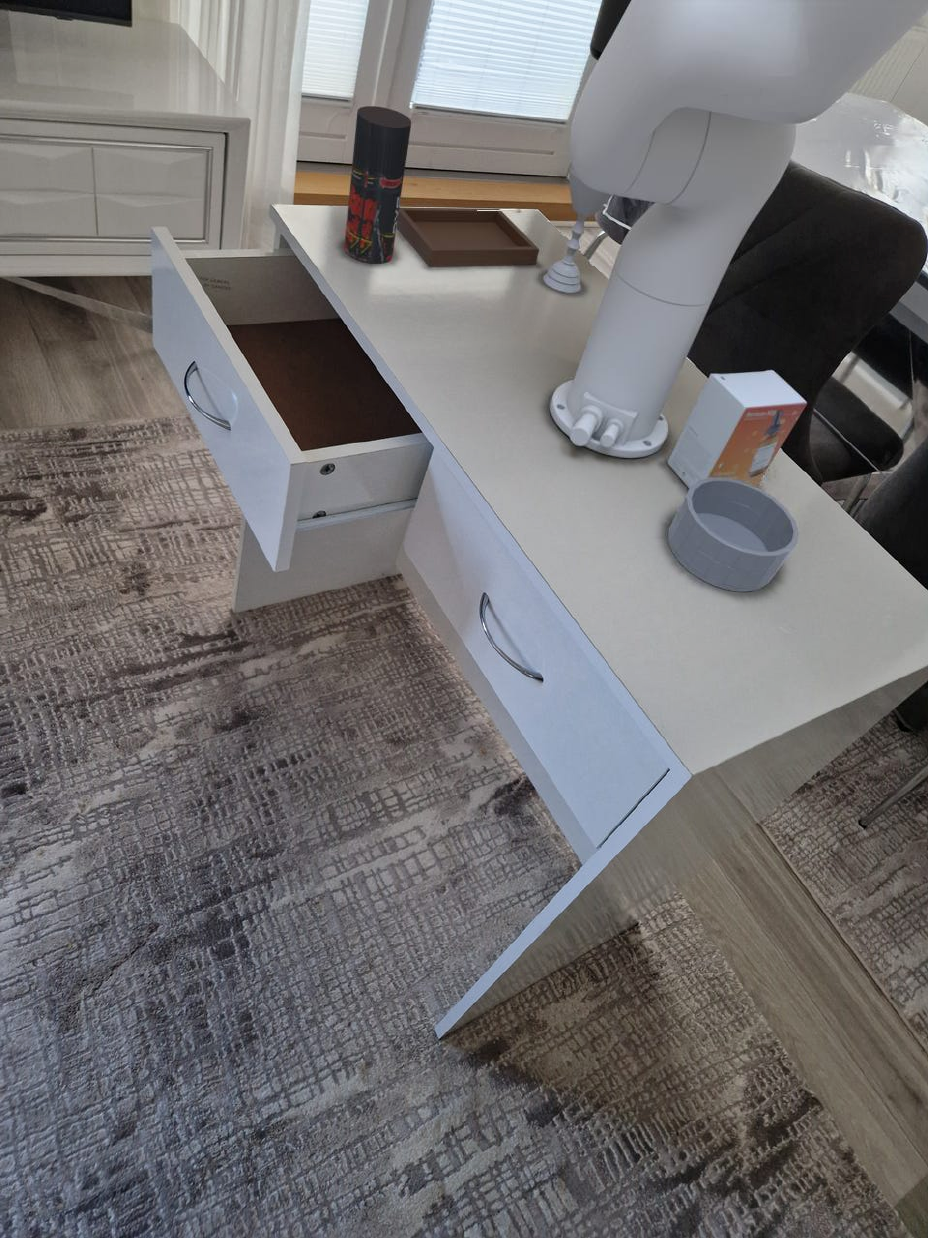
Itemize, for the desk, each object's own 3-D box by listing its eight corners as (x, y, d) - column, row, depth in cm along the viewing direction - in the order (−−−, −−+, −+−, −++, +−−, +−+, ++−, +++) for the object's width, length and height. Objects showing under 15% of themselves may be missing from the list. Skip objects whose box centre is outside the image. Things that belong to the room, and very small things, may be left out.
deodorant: (343, 237, 101) (356, 102, 90) (391, 244, 102) (409, 112, 91) (344, 259, 97) (357, 121, 86) (393, 266, 98) (413, 131, 88)
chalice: (529, 283, 103) (571, 128, 90) (541, 263, 108) (583, 113, 95) (584, 302, 103) (634, 149, 90) (593, 281, 107) (642, 132, 94)
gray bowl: (765, 608, 71) (791, 572, 67) (656, 561, 72) (676, 523, 68) (779, 542, 77) (803, 506, 74) (679, 499, 79) (699, 462, 75)
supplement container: (592, 64, 83) (628, -64, 76) (582, 45, 88) (614, -79, 80) (654, 79, 85) (695, -46, 77) (640, 58, 89) (678, -61, 82)
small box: (695, 499, 79) (744, 407, 72) (665, 463, 82) (709, 371, 75) (757, 490, 82) (810, 402, 75) (725, 456, 86) (773, 367, 78)
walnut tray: (429, 266, 100) (432, 250, 99) (393, 223, 107) (395, 206, 105) (535, 264, 107) (539, 249, 106) (495, 223, 113) (499, 208, 112)
